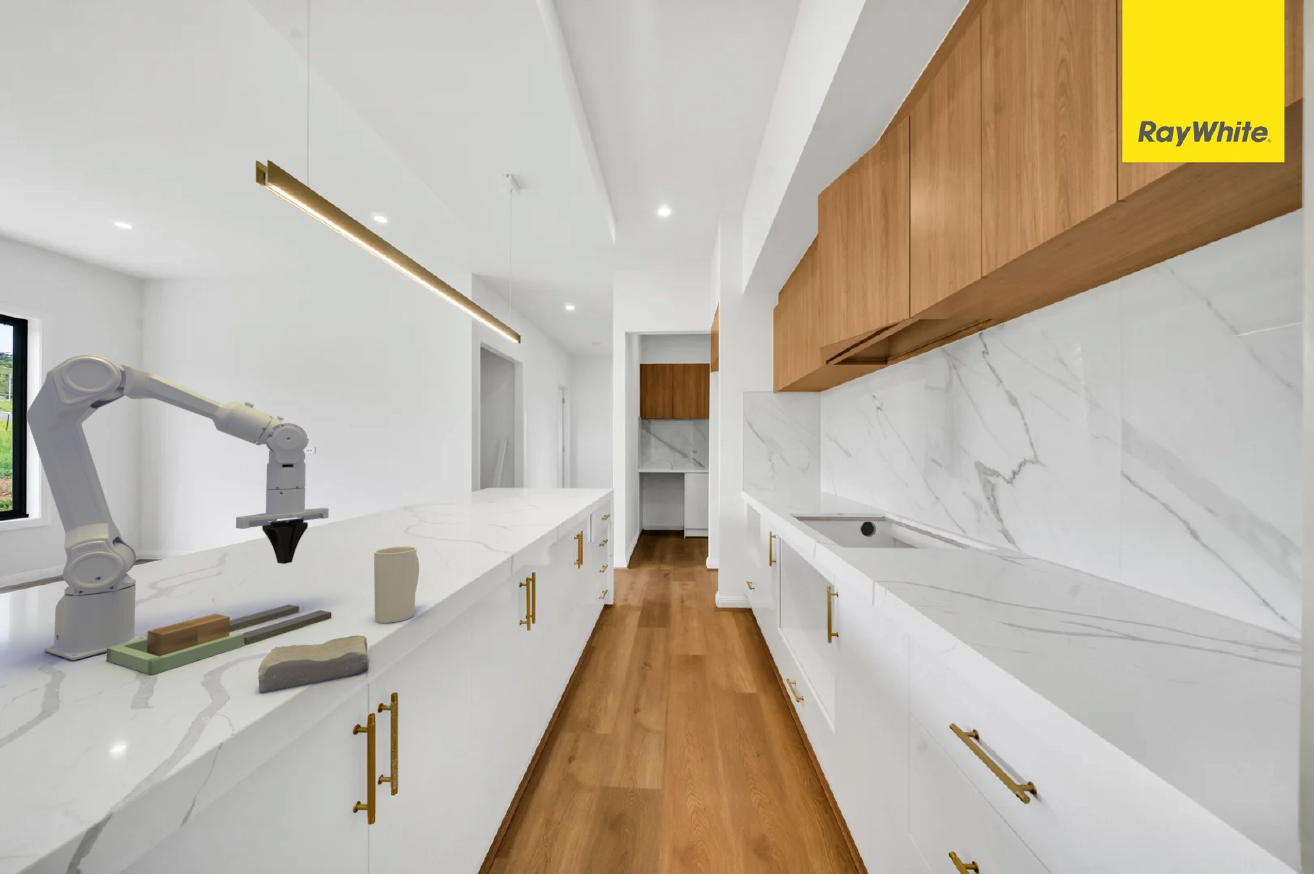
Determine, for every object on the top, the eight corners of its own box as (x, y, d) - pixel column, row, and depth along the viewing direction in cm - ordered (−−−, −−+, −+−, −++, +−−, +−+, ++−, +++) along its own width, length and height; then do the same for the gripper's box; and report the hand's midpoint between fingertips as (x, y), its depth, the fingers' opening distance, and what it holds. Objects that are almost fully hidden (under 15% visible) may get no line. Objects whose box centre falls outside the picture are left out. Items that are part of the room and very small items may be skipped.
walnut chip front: (146, 658, 70) (147, 630, 70) (182, 648, 74) (183, 621, 74) (161, 663, 69) (162, 634, 69) (197, 652, 72) (197, 625, 72)
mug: (399, 624, 83) (400, 554, 84) (364, 623, 84) (364, 553, 84) (434, 606, 93) (434, 543, 94) (401, 604, 94) (402, 542, 94)
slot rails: (202, 633, 79) (202, 627, 79) (288, 609, 91) (288, 604, 91) (247, 644, 75) (247, 637, 75) (331, 617, 87) (331, 612, 87)
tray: (106, 660, 69) (106, 647, 69) (198, 634, 79) (198, 623, 79) (151, 675, 65) (152, 661, 65) (243, 645, 74) (243, 633, 74)
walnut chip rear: (182, 648, 74) (183, 621, 74) (214, 638, 78) (215, 613, 78) (197, 652, 72) (197, 625, 72) (229, 642, 76) (229, 616, 76)
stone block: (268, 681, 67) (252, 698, 58) (271, 644, 68) (257, 655, 59) (368, 665, 73) (367, 678, 64) (370, 631, 74) (369, 639, 65)
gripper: (254, 492, 81) (252, 573, 81) (339, 486, 95) (338, 556, 94) (229, 491, 84) (227, 570, 84) (315, 485, 97) (314, 553, 97)
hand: (284, 562), depth 89 cm, fingers closed
